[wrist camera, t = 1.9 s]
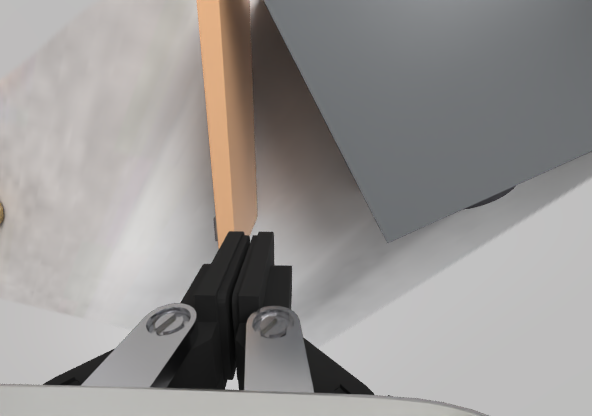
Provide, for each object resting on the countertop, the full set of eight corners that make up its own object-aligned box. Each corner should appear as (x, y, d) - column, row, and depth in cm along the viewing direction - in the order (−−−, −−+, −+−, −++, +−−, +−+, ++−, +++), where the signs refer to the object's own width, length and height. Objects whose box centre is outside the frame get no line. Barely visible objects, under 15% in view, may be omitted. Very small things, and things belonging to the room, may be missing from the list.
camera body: (448, -136, 18) (592, -371, 9) (526, 130, 23) (670, 155, 14) (260, -6, 21) (222, -82, 12) (368, 206, 26) (401, 270, 17)
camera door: (249, -7, 20) (214, -64, 13) (257, 216, 26) (236, 267, 18) (222, -7, 20) (172, -64, 13) (236, 216, 26) (207, 266, 19)
